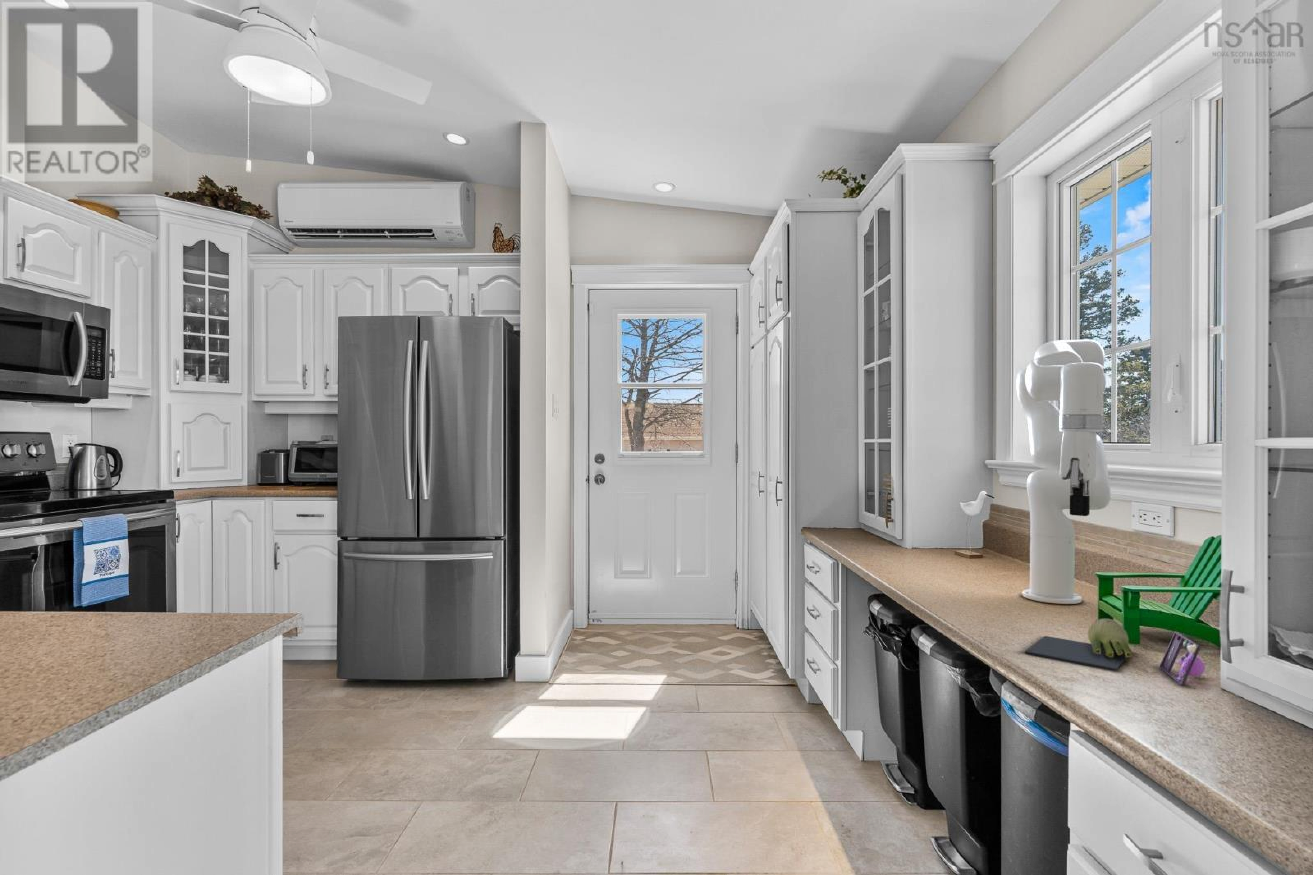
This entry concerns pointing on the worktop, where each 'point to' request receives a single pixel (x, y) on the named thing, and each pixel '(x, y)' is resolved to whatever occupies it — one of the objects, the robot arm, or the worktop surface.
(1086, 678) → the worktop surface
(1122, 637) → the fennel bulb
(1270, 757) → the worktop surface
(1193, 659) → the purple toy package
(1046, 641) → the mat
